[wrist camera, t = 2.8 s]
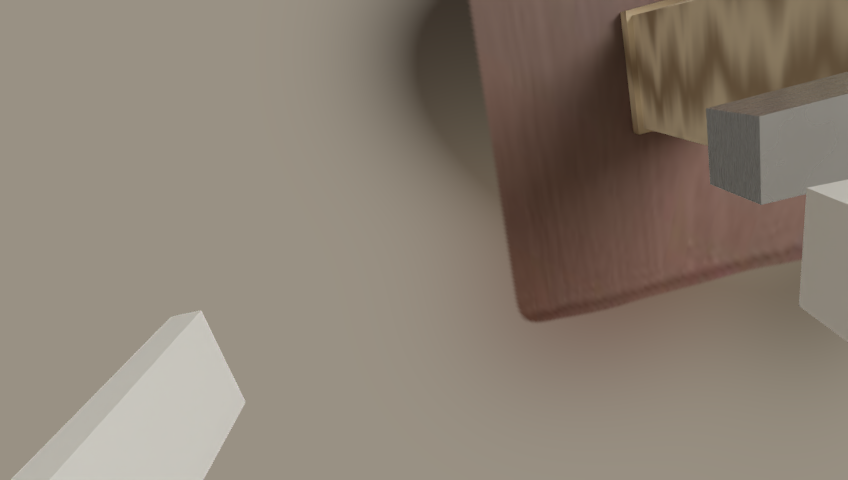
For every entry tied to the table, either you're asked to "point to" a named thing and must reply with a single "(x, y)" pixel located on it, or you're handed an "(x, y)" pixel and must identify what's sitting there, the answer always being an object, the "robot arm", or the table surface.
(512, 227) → the table surface
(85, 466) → the robot arm
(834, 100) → the grey round-headed handle
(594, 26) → the table surface
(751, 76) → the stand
